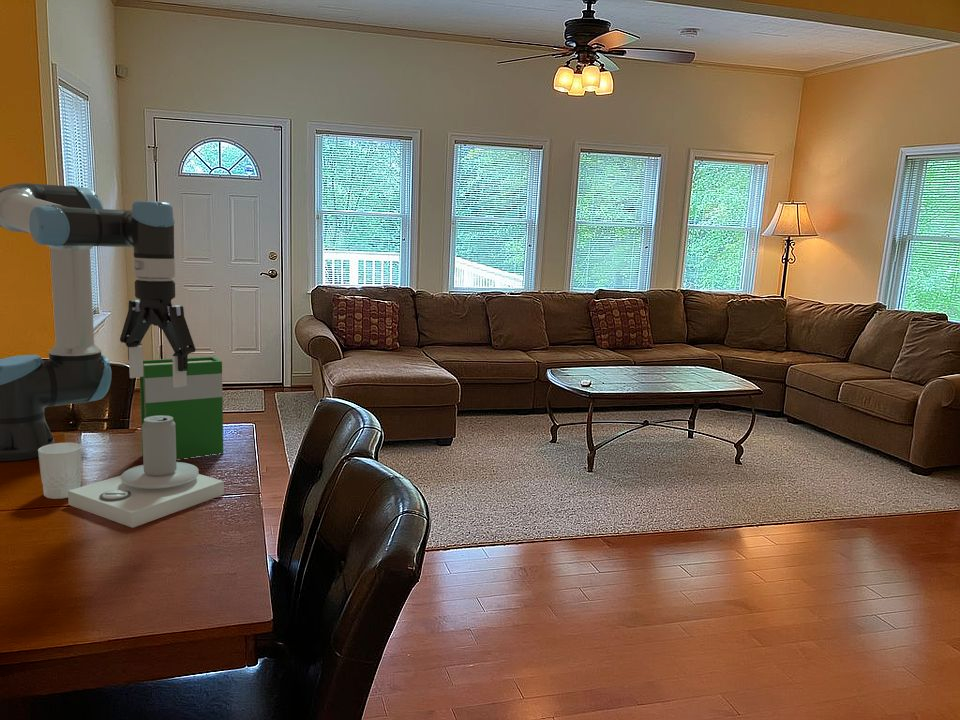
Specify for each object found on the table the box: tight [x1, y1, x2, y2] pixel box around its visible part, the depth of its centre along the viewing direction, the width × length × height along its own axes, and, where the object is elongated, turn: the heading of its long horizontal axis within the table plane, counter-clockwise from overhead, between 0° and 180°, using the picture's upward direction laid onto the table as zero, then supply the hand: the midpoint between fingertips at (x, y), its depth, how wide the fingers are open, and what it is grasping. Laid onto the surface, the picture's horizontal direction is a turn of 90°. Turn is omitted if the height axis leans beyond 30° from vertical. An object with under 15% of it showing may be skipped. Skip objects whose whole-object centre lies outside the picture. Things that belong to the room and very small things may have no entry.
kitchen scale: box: [68, 461, 225, 529], centre depth 151 cm, size 20×22×5 cm
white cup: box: [38, 442, 83, 500], centre depth 152 cm, size 8×8×10 cm
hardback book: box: [139, 356, 224, 461], centre depth 179 cm, size 18×7×24 cm, turn 124°
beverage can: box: [141, 415, 177, 477], centre depth 152 cm, size 6×6×12 cm
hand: (157, 381), depth 150 cm, fingers open, 13 cm apart
